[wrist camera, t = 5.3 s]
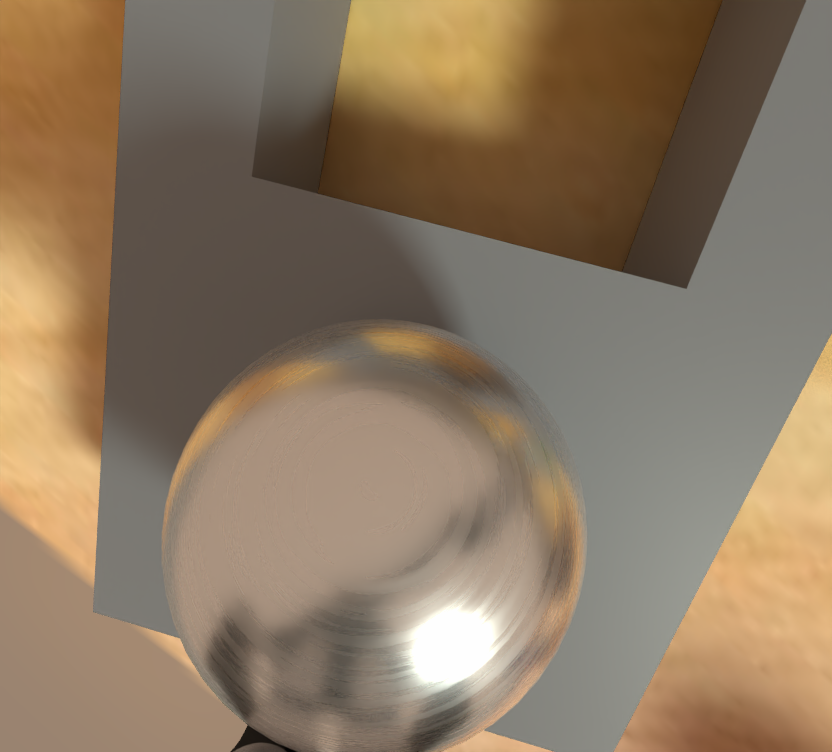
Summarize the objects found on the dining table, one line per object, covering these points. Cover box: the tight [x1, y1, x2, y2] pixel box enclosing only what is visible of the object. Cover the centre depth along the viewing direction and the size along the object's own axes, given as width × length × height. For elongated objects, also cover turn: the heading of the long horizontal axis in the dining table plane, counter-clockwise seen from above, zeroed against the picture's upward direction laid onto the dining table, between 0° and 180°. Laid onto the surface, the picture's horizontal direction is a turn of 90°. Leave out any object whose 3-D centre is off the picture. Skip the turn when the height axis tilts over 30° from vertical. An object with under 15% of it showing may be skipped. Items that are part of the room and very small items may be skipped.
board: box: [93, 0, 832, 752], centre depth 11 cm, size 22×14×4 cm, turn 166°
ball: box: [162, 319, 587, 752], centre depth 7 cm, size 6×6×6 cm
